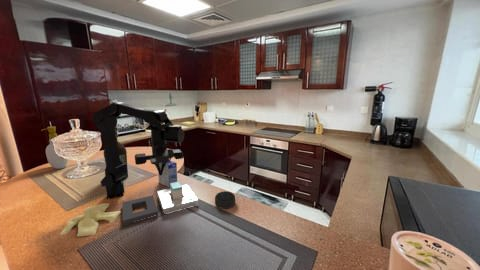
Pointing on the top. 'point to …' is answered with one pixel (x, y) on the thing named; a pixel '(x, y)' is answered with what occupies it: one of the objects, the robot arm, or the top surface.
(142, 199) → the dark grey flat frame
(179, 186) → the plug
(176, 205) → the block
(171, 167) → the ink cartridge box
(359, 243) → the top surface
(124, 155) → the olive oil
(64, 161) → the soap bottle
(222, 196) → the smart speaker
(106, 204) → the cloth
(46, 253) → the top surface
